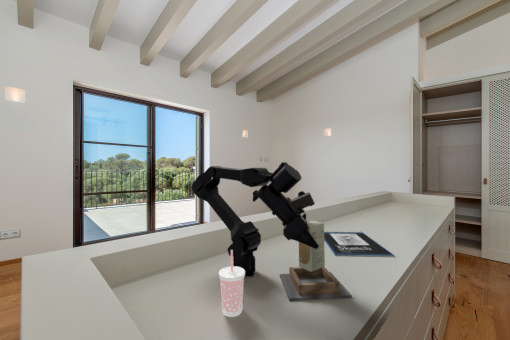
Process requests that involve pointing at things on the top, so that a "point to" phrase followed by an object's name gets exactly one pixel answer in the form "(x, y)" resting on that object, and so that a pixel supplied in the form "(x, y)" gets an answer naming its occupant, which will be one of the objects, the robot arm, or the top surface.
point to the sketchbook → (354, 244)
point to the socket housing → (312, 285)
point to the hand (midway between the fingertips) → (316, 242)
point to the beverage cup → (232, 289)
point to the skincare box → (309, 255)
